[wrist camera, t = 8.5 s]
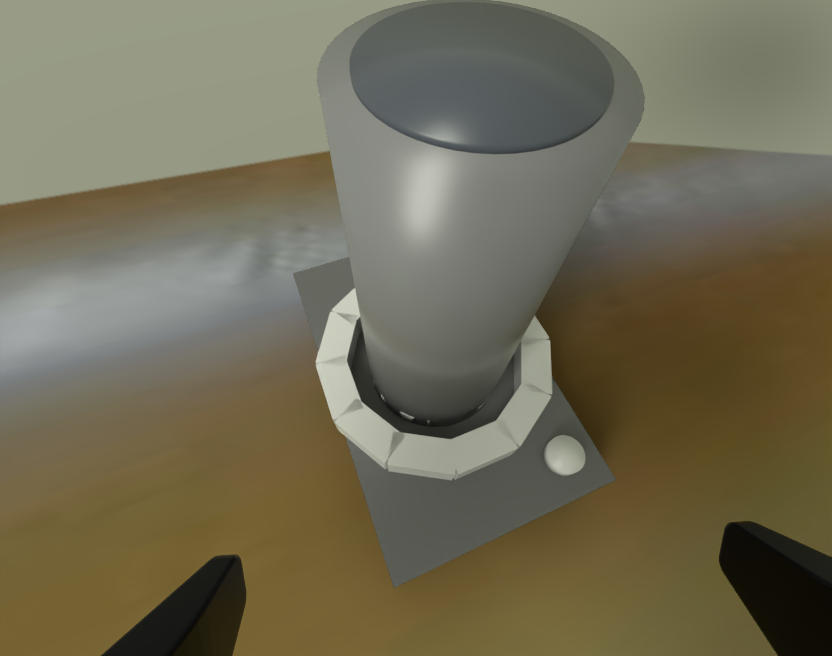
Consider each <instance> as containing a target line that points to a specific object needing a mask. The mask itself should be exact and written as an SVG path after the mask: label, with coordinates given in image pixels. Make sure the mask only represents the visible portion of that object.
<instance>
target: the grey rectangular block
mask: <svg viewBox="0 0 832 656" xmlns="http://www.w3.org/2000/svg"><path fill="white" fill-rule="evenodd" d="M293 275H294V278H295V281H296V284H297V287H298V290H299V293H300V296H301V300H302V303H303V306H304V309H305V312H306V315H307V318H308V321H309V324H310V328H311V331H312V334H313V337H314V340H315V343H316V346H317V349H318V355H317V359H316V368H317V371H318V374H319V377H320V380H321V384H322V387H323V390H324V393H325V396H326V400H327V403H328V406H329V409H330V412H331V416H332V419H333V421H334V423H335V425H336V427H337V429H338V430H339V431H340V432H341V433H342V434H343V435H344V436H345V437H346V440H347V443H348V446H349V449H350V452H351V455H352V458H353V462H354V465H355V468H356V471H357V474H358V477H359V480H360V483H361V486H362V490H363V493H364V496H365V499H366V502H367V505H368V508H369V511H370V515H371V518H372V521H373V524H374V527H375V530H376V533H377V536H378V539H379V543H380V546H381V549H382V552H383V555H384V558H385V561H386V564H387V567H388V571H389V574H390V577H391V580H392V583H393V586H394V588H395V587H397V586H399V585H401V584H403V583H405V582H407V581H409V580H411V579H413V578H415V577H417V576H420V575H422V574H424V573H426V572H428V571H430V570H432V569H434V568H436V567H438V566H440V565H442V564H444V563H446V562H448V561H450V560H452V559H454V558H456V557H459V556H461V555H463V554H465V553H467V552H469V551H471V550H473V549H475V548H477V547H479V546H481V545H483V544H485V543H487V542H489V541H491V540H493V539H496V538H498V537H500V536H502V535H504V534H506V533H508V532H510V531H512V530H514V529H516V528H518V527H520V526H522V525H524V524H526V523H528V522H530V521H532V520H535V519H537V518H539V517H541V516H543V515H545V514H547V513H549V512H551V511H553V510H555V509H557V508H559V507H561V506H563V505H565V504H567V503H569V502H571V501H574V500H576V499H578V498H580V497H582V496H584V495H586V494H588V493H590V492H592V491H594V490H596V489H598V488H600V487H602V486H604V485H606V484H608V483H610V482H613V481H615V480H616V479H615V477H614V475H613V474H612V472H611V471H610V469H609V467H608V466H607V464H606V462H605V461H604V459H603V458H602V456H601V454H600V453H599V451H598V450H597V448H596V446H595V445H594V443H593V442H592V440H591V438H590V437H589V435H588V434H587V432H586V430H585V429H584V427H583V425H582V424H581V422H580V421H579V419H578V417H577V416H576V414H575V413H574V411H573V409H572V408H571V406H570V405H569V403H568V401H567V400H566V398H565V397H564V395H563V393H562V392H561V390H560V388H559V387H558V385H557V384H556V382H555V380H554V379H553V377H552V373H551V349H550V340H548V339H549V337H548V335H547V333H546V332H545V330H544V329H543V327H542V326H541V324H540V323H539V321H538V320H537V318H536V317H535V316H534V317H533V319H532V321H531V323H530V325H529V327H528V328H527V330H526V332H525V334H524V336H523V338H522V339H521V341H520V343H519V345H518V347H517V349H516V350H515V352H514V354H513V356H512V358H511V360H510V361H509V363H508V365H507V367H506V369H505V371H504V372H503V374H502V376H501V378H500V380H499V382H498V383H497V385H496V387H495V389H494V391H493V393H492V394H491V396H490V398H489V400H488V401H487V402H486V404H485V405H484V406H483V407H482V408H481V409H480V410H479V411H478V412H477V413H476V414H474V415H473V416H472V417H470V418H468V419H467V420H465V421H463V422H460V423H457V424H454V425H450V426H444V427H427V426H422V425H417V424H414V423H411V422H409V421H407V420H405V419H402V418H401V417H399V416H398V415H396V414H395V413H394V412H392V411H391V410H390V409H389V408H388V407H387V406H386V405H385V404H384V403H383V402H382V400H381V399H380V397H379V396H378V394H377V392H376V390H375V388H374V385H373V382H372V378H371V372H370V367H369V361H368V356H367V350H366V345H365V340H364V334H363V329H362V323H361V318H360V312H359V307H358V301H357V296H356V291H355V285H354V280H353V274H352V269H351V263H350V258H349V257H348V258H344V259H341V260H337V261H334V262H331V263H327V264H324V265H320V266H317V267H313V268H310V269H307V270H303V271H300V272H296V273H293Z"/></svg>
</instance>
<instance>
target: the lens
mask: <svg viewBox="0 0 832 656" xmlns="http://www.w3.org/2000/svg"><path fill="white" fill-rule="evenodd" d="M317 83H318V89H319V94H320V100H321V106H322V111H323V116H324V122H325V127H326V133H327V138H328V144H329V149H330V155H331V160H332V165H333V171H334V176H335V182H336V187H337V193H338V198H339V204H340V209H341V214H342V220H343V225H344V231H345V236H346V242H347V247H348V252H349V258H350V263H351V269H352V274H353V280H354V285H355V291H356V296H357V301H358V307H359V312H360V318H361V323H362V329H363V334H364V340H365V345H366V350H367V356H368V361H369V367H370V372H371V378H372V382H373V385H374V388H375V390H376V392H377V394H378V396H379V397H380V399H381V400H382V402H383V403H384V404H385V405H386V406H387V407H388V408H389V409H390V410H391V411H392V412H394V413H395V414H396V415H398V416H399V417H401V418H402V419H405V420H407V421H409V422H411V423H414V424H417V425H422V426H427V427H444V426H450V425H454V424H457V423H460V422H463V421H465V420H467V419H468V418H470V417H472V416H473V415H474V414H476V413H477V412H478V411H479V410H480V409H481V408H482V407H483V406H484V405H485V404H486V402H487V401H488V400H489V398H490V396H491V394H492V393H493V391H494V389H495V387H496V385H497V383H498V382H499V380H500V378H501V376H502V374H503V372H504V371H505V369H506V367H507V365H508V363H509V361H510V360H511V358H512V356H513V354H514V352H515V350H516V349H517V347H518V345H519V343H520V341H521V339H522V338H523V336H524V334H525V332H526V330H527V328H528V327H529V325H530V323H531V321H532V319H533V317H534V316H535V314H536V312H537V310H538V308H539V306H540V305H541V303H542V301H543V299H544V297H545V295H546V294H547V292H548V290H549V288H550V286H551V284H552V283H553V281H554V279H555V277H556V275H557V273H558V272H559V270H560V268H561V266H562V264H563V262H564V261H565V259H566V257H567V255H568V253H569V251H570V250H571V248H572V246H573V244H574V242H575V240H576V239H577V237H578V235H579V233H580V231H581V229H582V228H583V226H584V224H585V222H586V220H587V218H588V217H589V215H590V213H591V211H592V209H593V207H594V206H595V204H596V202H597V200H598V198H599V196H600V195H601V193H602V191H603V189H604V187H605V185H606V184H607V182H608V180H609V178H610V176H611V174H612V173H613V171H614V169H615V167H616V165H617V163H618V162H619V160H620V158H621V156H622V154H623V152H624V151H625V149H626V147H627V145H628V143H629V141H630V140H631V138H632V136H633V134H634V132H635V130H636V128H637V127H638V125H639V123H640V121H641V117H642V114H643V111H644V93H643V88H642V84H641V82H640V79H639V77H638V75H637V73H636V71H635V70H634V69H633V67H632V66H631V64H630V63H629V61H628V60H627V59H626V58H625V57H624V56H623V55H622V54H621V53H620V52H619V51H618V50H617V49H616V48H615V47H613V46H612V45H611V44H610V43H609V42H607V41H606V40H604V39H603V38H601V37H600V36H598V35H597V34H595V33H594V32H592V31H590V30H588V29H586V28H585V27H583V26H581V25H579V24H576V23H574V22H572V21H570V20H568V19H565V18H563V17H560V16H557V15H554V14H552V13H549V12H545V11H542V10H538V9H535V8H531V7H526V6H522V5H518V4H512V3H506V2H500V1H491V0H428V1H421V2H414V3H409V4H404V5H400V6H396V7H392V8H389V9H385V10H382V11H380V12H377V13H374V14H372V15H369V16H367V17H365V18H363V19H361V20H359V21H357V22H355V23H354V24H352V25H351V26H349V27H348V28H346V29H345V30H344V31H343V32H341V33H340V34H339V35H338V36H337V37H335V38H334V40H333V41H332V42H331V43H330V45H329V46H328V47H327V48H326V50H325V52H324V54H323V55H322V57H321V60H320V63H319V66H318V73H317Z"/></svg>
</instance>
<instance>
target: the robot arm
mask: <svg viewBox="0 0 832 656" xmlns="http://www.w3.org/2000/svg"><path fill="white" fill-rule="evenodd" d="M719 563H720V566H721V569H722V571H723V573H724V575H725V576H726V578H727V579H728V581H729V582H730V584H731V585H732V587H733V588H734V590H735V591H736V593H737V594H738V596H739V597H740V599H741V600H742V602H743V603H744V605H745V606H746V608H747V610H748V611H749V613H750V614H751V616H752V617H753V619H754V620H755V622H756V623H757V625H758V626H759V628H760V629H761V631H762V632H763V634H764V635H765V637H766V638H767V640H768V641H769V643H770V645H771V646H772V648H773V649H774V651H775V652H776V653H777V655H778V656H832V557H830V556H828V555H825V554H823V553H821V552H819V551H817V550H814V549H812V548H810V547H808V546H806V545H803V544H801V543H799V542H797V541H795V540H792V539H790V538H788V537H786V536H784V535H781V534H779V533H777V532H775V531H773V530H770V529H768V528H766V527H764V526H762V525H759V524H757V523H755V522H751V521H742V522H731V523H728V524H727V525H726V527H725V529H724V534H723V539H722V544H721V549H720V554H719ZM245 603H246V587H245V581H244V575H243V568H242V562H241V559H240V557H239V556H238V555H220V556H215V557H213V558H212V559H211V560H209V561H208V562H207V563H206V564H205V565H204V566H202V567H201V568H200V569H199V570H198V571H197V572H196V573H194V574H193V575H192V576H191V577H190V578H189V579H188V580H187V581H185V582H184V583H183V584H182V585H181V586H180V587H179V588H177V589H176V590H175V591H174V592H173V593H172V594H171V595H169V596H168V597H167V598H166V599H165V600H164V601H163V602H161V603H160V604H159V605H158V606H157V607H156V608H155V609H154V610H152V611H151V612H150V613H149V614H148V615H147V616H146V617H144V618H143V619H142V620H141V621H140V622H139V623H138V624H136V625H135V626H134V627H133V628H132V629H131V630H130V631H128V632H127V633H126V634H125V635H124V636H123V637H122V638H121V639H119V640H118V641H117V642H116V643H115V644H114V645H113V646H111V647H110V648H109V649H108V650H107V651H106V652H105V653H103V654H102V655H101V656H232V655H233V651H234V647H235V643H236V639H237V635H238V631H239V627H240V624H241V620H242V616H243V612H244V608H245Z"/></svg>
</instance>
